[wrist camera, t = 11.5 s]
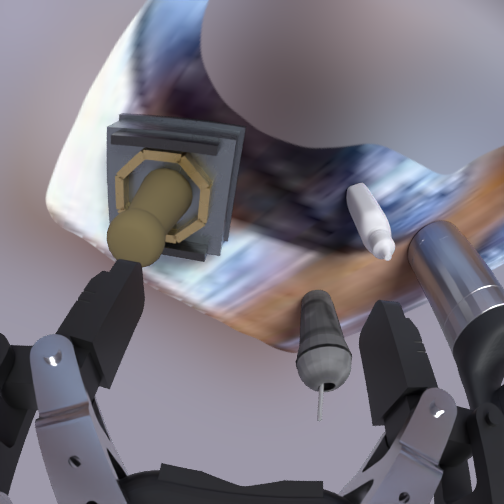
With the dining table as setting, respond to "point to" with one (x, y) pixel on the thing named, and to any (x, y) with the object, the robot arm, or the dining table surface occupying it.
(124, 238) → the cork
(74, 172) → the dining table surface
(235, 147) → the grey peg socket base
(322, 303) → the beverage cup
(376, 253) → the eye dropper bottle
